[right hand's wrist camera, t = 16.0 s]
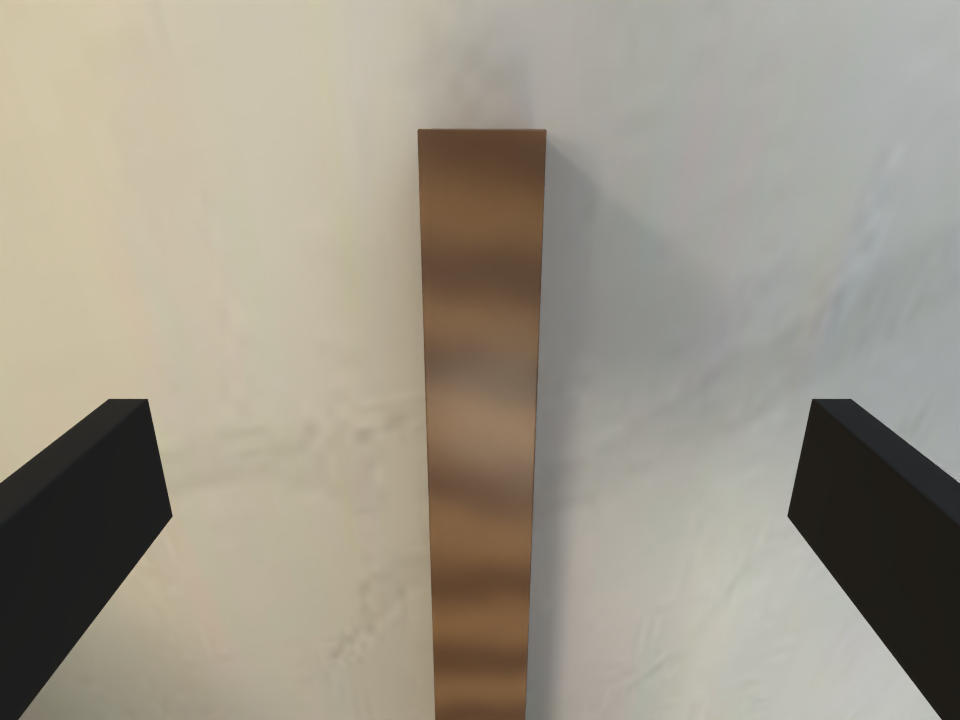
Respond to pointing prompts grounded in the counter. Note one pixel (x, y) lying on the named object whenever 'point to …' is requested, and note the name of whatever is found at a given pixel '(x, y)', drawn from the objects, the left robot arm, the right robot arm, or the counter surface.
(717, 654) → the counter surface
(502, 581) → the bar
